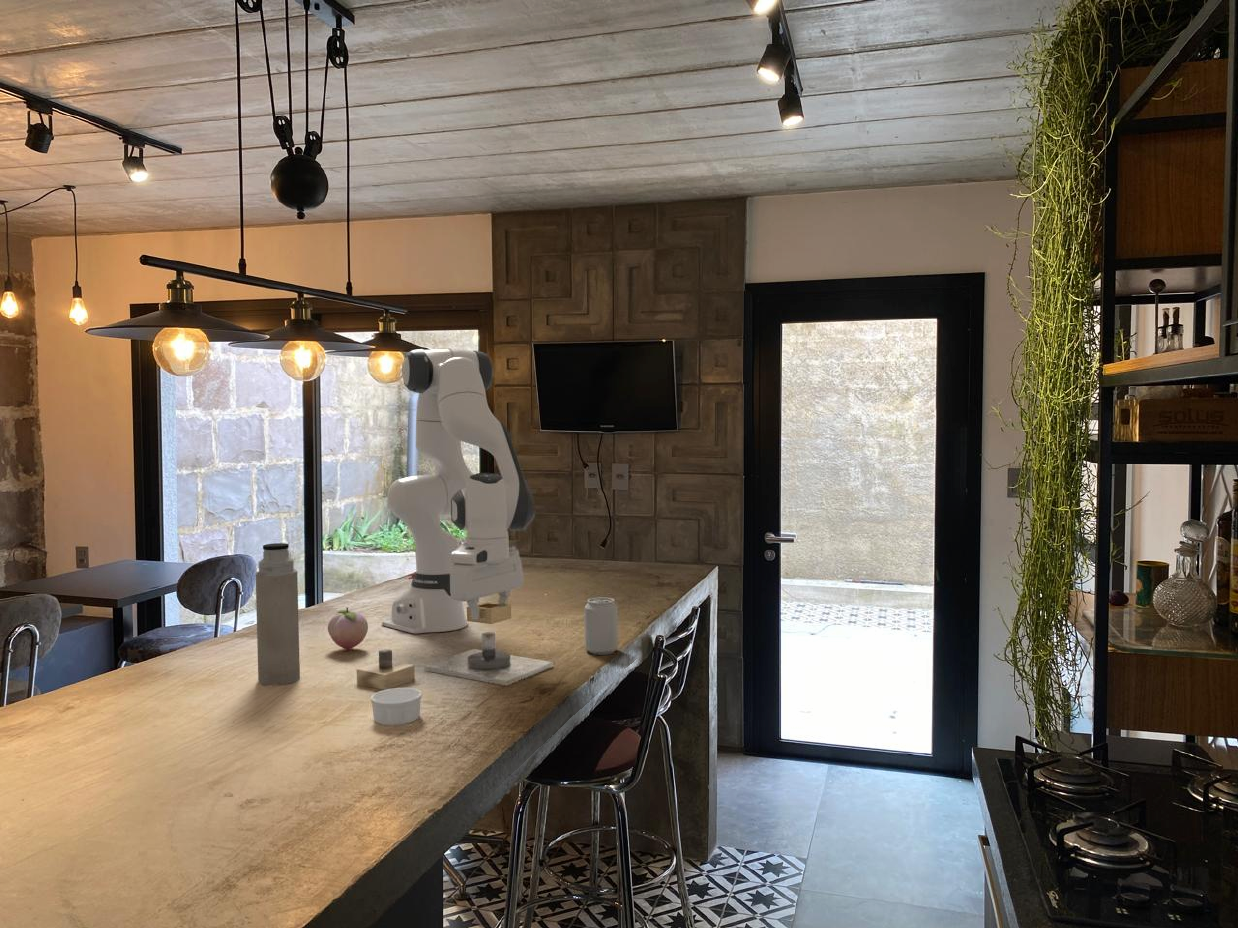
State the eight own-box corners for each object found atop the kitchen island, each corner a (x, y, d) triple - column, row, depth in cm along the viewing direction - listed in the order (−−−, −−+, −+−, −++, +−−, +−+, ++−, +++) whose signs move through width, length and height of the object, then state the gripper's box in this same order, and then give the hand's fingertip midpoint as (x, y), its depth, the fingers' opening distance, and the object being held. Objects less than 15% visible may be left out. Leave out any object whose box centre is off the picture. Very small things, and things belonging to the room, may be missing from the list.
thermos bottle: (276, 672, 189) (273, 540, 188) (308, 676, 187) (305, 542, 185) (249, 683, 182) (245, 545, 180) (282, 687, 179) (278, 547, 178)
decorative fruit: (376, 649, 208) (375, 607, 207) (343, 656, 202) (343, 612, 201) (354, 643, 214) (353, 601, 214) (322, 649, 208) (321, 606, 208)
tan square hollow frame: (467, 621, 190) (466, 606, 190) (487, 615, 195) (486, 601, 195) (491, 624, 186) (491, 609, 186) (511, 618, 192) (511, 604, 192)
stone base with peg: (424, 670, 191) (423, 635, 190) (473, 653, 204) (473, 620, 204) (506, 685, 179) (506, 648, 179) (553, 666, 193) (552, 632, 193)
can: (614, 656, 201) (613, 603, 200) (581, 654, 203) (581, 601, 202) (620, 647, 208) (620, 596, 208) (589, 646, 210) (588, 595, 209)
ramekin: (396, 730, 154) (395, 705, 154) (360, 721, 159) (359, 697, 159) (432, 715, 162) (432, 692, 162) (397, 707, 167) (396, 684, 166)
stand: (356, 683, 181) (356, 652, 181) (386, 673, 188) (385, 644, 188) (385, 689, 177) (385, 658, 177) (414, 679, 184) (414, 649, 184)
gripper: (506, 543, 201) (507, 605, 201) (444, 555, 183) (445, 622, 184) (529, 545, 198) (530, 607, 198) (467, 557, 180) (469, 626, 181)
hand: (489, 615), depth 191 cm, fingers closed on tan square hollow frame, 7 cm apart
